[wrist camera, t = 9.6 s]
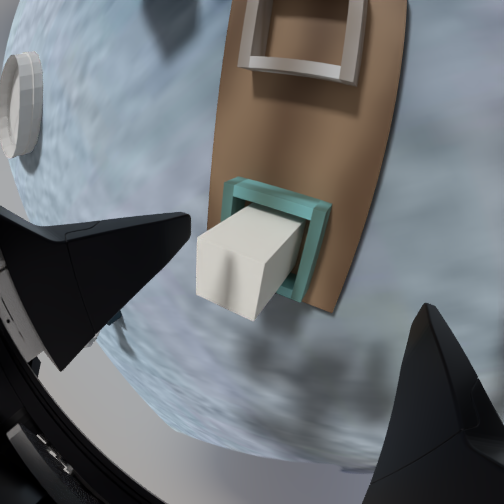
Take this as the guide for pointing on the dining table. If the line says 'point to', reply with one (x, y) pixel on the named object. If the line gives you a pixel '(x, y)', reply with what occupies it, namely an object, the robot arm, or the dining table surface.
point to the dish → (21, 103)
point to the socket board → (307, 124)
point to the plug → (247, 258)
